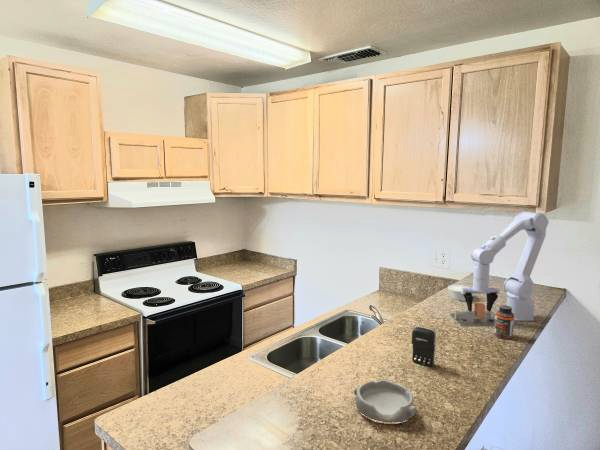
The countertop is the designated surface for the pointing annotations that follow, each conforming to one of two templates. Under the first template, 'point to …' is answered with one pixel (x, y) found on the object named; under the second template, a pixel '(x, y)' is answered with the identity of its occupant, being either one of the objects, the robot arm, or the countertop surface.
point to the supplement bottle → (504, 322)
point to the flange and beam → (473, 318)
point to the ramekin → (456, 292)
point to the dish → (385, 401)
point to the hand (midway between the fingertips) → (479, 310)
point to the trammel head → (479, 310)
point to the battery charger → (423, 345)
